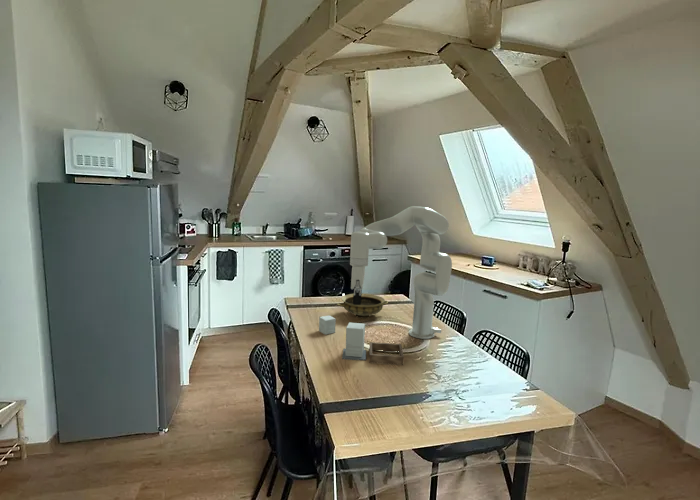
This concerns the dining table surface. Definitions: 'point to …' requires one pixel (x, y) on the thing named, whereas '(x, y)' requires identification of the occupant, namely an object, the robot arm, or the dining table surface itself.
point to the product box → (327, 324)
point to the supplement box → (355, 339)
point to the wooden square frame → (386, 358)
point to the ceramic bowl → (363, 305)
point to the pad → (353, 356)
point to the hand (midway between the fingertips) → (357, 301)
